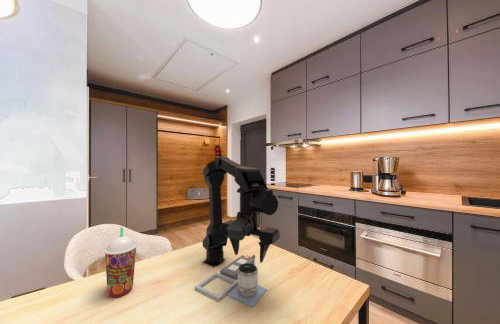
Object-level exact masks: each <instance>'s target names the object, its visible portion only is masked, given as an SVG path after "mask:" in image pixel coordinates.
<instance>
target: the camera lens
mask: <svg viewBox="0 0 500 324" xmlns="http://www.w3.org/2000/svg"><path fill="white" fill-rule="evenodd" d="M258 275H259V273H258V267H257V266H256V265H255V264H254V265H253V264H250V263H245V264H242V265H240V266H239V268H238V279H237V281H238V292H239V294H240V295H241V296H243V297H253V296H254V295H255V294H256V291H257V286H258V285H259V284H258V281H259V280H258Z"/></svg>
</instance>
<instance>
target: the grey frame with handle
mask: <svg viewBox="0 0 500 324" xmlns="http://www.w3.org/2000/svg"><path fill="white" fill-rule="evenodd" d="M255 258H256V255H255V254H253V255H248V254H246V255H243V254H241V255H240V256H239V257H237V258H235V260H232V262H230V263H229V264H228V265H225V267H222V269H221V270H220V272H214V273H213V274H211V275H210V276H208V277H207V278H205V279H204V280H202V281H201V282H199V283H198V284H197V285H195V286H194V291H196V292H198V293H200V294H202V295H204V296H205V297H208V298H210V299H212V300H214V301H216V302H217V303H219V302H221V300H223V299H224V298H225V297H226V296H228V294H229V293H230V292H231V291H232V290H233V289H234V288H235V287H236V286H237V285H238V268H239V266H240V265H242V264H245V263H250V264H253V265H255ZM216 278H217V279H220V280H222V281H224V282H227V283H230V285H228V287H227V288H225V289H224V290H223V291H221V292H220V293H219V294H216V293H214V292H212V291H210V290H208V289H206V288H204V287H205V286H206V285H208V284H209V283H210V282H212V281H213V280H215V279H216Z"/></svg>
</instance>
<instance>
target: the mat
mask: <svg viewBox="0 0 500 324" xmlns="http://www.w3.org/2000/svg"><path fill="white" fill-rule="evenodd" d="M267 291H268V288H267V287H263V286H261V285H259V284H258V286H257V291H256V294H255V295H254V296H253V297H243V296H241V295H240V294H239V292H238V285H237V286H236V287H235V288H234V289H233V290H231V291H230V292H229V293H228V294H227V297H229V298H232V299H233V300H236V301H238V302H240V303H242V304H244V305H246V306H249V307H251V308H254V307H255V305H256V304H257V303H258V302H259V301H260V299H261V298H262V297H263V296H264V295H265V293H266V292H267Z"/></svg>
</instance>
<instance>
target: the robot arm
mask: <svg viewBox="0 0 500 324" xmlns="http://www.w3.org/2000/svg"><path fill="white" fill-rule="evenodd" d="M202 174H203V177H204V182H205V184H207V186H208V193H209V194H208V197H209V198H208V200H209V201H208V202H209V221H210V222H209V224H208V226H207V228H206V232H205V233H206V234H205V237H204V238H203V240H202V248H204V249H205V251H206V259H205V260H203V263H205V264H207V265H209V266H211V267H217V266H219V265H220V264H222V263H223V262H225V261H226V258H224V247H226V246H227V244H228V240H229V241H230V244H231V246H232V247H231V248H232V249H233V252H234V255H235V256H237V255H239V250H240V241H243V240H244V239H245V237H250V236H252V235H253V236H257V237H258V239H259V242H258V245H259V263H261V264H262V263H263V262H264V259H265V258H266V255H267V252H268V250H269V248H270V246H271V245H273V244H274V243H276V242H277V241H278V240H279V239H281V238H280V231H279V229H278V228H273V227H270V226H268V227H266V228H264V229H259V228H260V227H261V223H259V215H261V214H263V215H267V216H272V215H274V214H275V213H276V212H277V210H278V208H279V201H278V198H277V196H276V195H275V194H274V191H273V190H272V189H269V188H268V186H267V183H266V182H265V180H264V177H263V175H262V173H261V170H260V169H259V168H256V167H253V166H252V167H250V166H249V167H248V166H243V165H242V164H239V163H237V162H236V161H234V160H232V159H230V157H226V156H217V157H216V158H214V160H212V161H211V162H209V163H207V164H206V165H205V167H204V168H203V169H202ZM226 174H229V175H230V176H232V177H233V178H234V182H235V183H236V184H237V185H238V186H239V188H237V190H236V193H238V194H239V211H237V212H236V213H237V214H236V218H235V219H234V220H233V219H230V220H226V221H224V222H223V209H222V208H223V207H222V205H223V204H222V190H221V189H222V185H223V183H224V181H225V175H226Z"/></svg>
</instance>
